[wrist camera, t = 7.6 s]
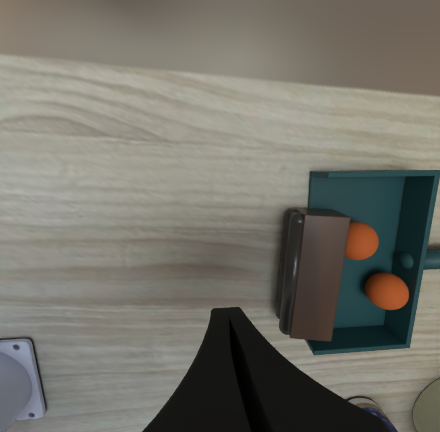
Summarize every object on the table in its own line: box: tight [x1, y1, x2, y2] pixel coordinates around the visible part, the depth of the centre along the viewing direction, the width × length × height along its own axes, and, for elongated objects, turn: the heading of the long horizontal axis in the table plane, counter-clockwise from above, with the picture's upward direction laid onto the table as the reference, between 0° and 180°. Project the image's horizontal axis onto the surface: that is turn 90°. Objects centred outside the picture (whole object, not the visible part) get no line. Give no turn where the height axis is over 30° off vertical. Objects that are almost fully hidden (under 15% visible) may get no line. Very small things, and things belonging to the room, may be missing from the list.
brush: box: [276, 208, 351, 341], centre depth 19 cm, size 3×10×4 cm
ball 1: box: [345, 222, 379, 260], centre depth 18 cm, size 3×3×3 cm
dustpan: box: [305, 170, 440, 355], centre depth 20 cm, size 15×15×3 cm
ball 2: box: [365, 273, 409, 310], centre depth 20 cm, size 3×3×3 cm
